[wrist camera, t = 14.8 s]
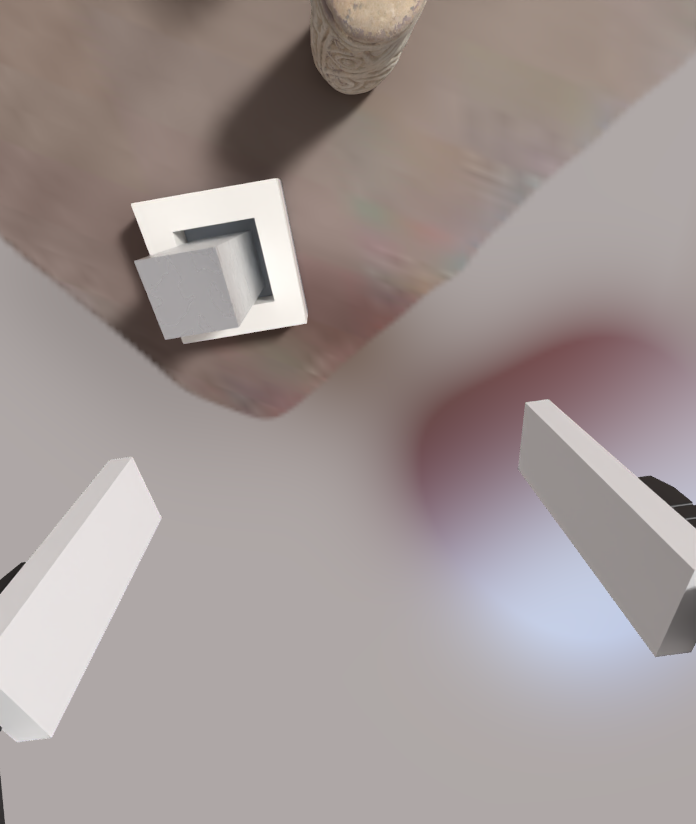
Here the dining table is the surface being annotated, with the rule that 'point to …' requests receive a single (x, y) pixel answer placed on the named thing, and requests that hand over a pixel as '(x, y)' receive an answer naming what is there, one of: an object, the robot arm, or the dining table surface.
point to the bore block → (230, 214)
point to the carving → (360, 39)
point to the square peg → (203, 284)
